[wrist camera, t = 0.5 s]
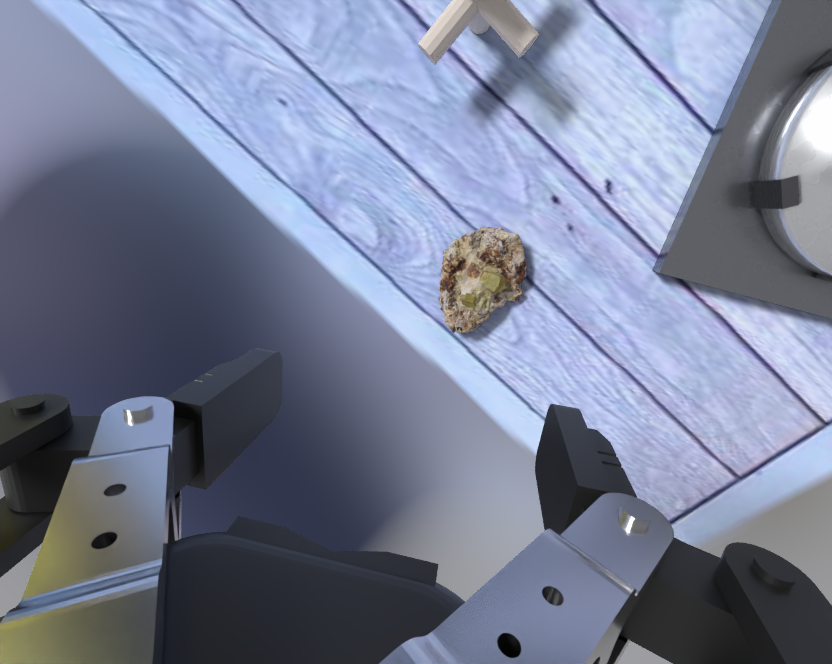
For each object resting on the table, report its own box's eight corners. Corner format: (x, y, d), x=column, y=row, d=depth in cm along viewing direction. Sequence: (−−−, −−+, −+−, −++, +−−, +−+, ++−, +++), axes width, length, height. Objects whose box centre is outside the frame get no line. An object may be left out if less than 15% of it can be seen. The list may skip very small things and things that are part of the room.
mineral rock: (458, 206, 35) (543, 249, 33) (473, 209, 39) (550, 248, 37) (408, 313, 39) (481, 358, 37) (426, 307, 43) (493, 347, 41)
